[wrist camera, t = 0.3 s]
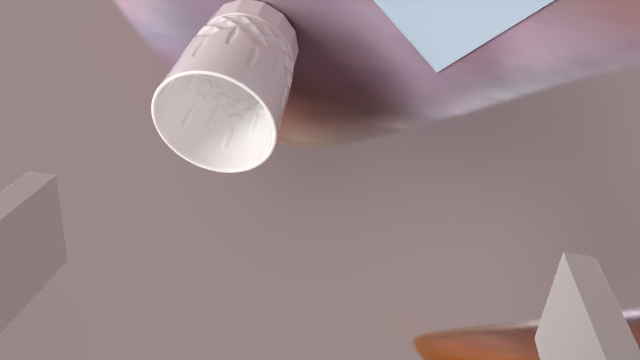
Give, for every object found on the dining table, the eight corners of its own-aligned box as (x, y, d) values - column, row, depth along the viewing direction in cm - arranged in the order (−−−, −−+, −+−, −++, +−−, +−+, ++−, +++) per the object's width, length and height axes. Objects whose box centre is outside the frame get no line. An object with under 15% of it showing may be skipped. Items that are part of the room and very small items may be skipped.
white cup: (211, -28, 40) (158, 51, 33) (321, 14, 41) (291, 100, 34) (193, 63, 46) (144, 148, 39) (290, 99, 46) (259, 188, 39)
